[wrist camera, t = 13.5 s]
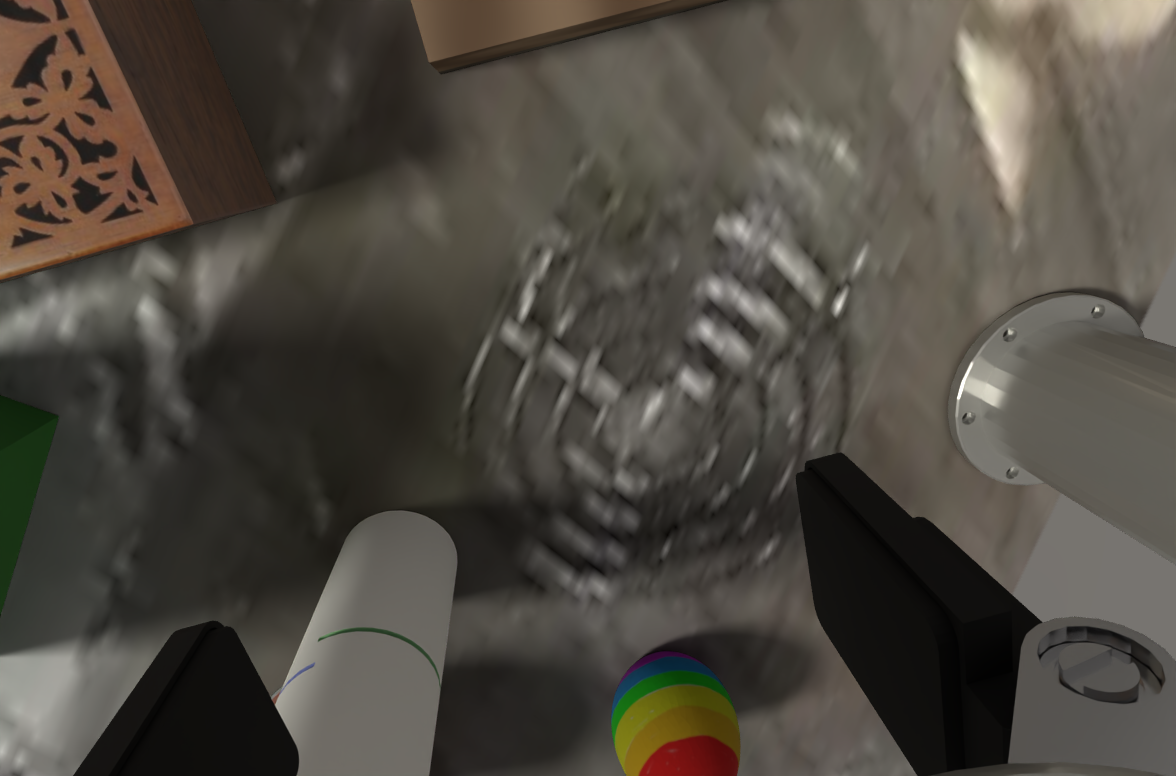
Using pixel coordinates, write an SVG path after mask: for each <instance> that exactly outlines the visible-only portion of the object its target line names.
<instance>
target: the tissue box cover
mask: <svg viewBox="0 0 1176 776" xmlns="http://www.w3.org/2000/svg"><path fill="white" fill-rule="evenodd" d="M276 203H277V202H276V200H275V198H274V195H273V193H272V190H271V188H270V186H269V183H268V181H267V179H266V176H265V174H264V172H263V169H262V167H261V164H260V162H259V160H258V157H257V155H256V153H255V150H254V148H253V146H252V143H251V141H250V138H249V136H248V134H247V131H246V129H245V127H244V124H243V122H242V120H241V117H240V115H239V113H238V110H237V108H236V105H235V103H234V101H233V98H232V96H231V94H230V91H229V89H228V87H227V84H226V82H225V79H224V77H223V75H222V72H221V70H220V68H219V65H218V63H217V61H216V58H215V56H214V53H213V51H212V49H211V46H210V44H209V42H208V39H207V37H206V35H205V32H204V30H203V27H202V25H201V23H200V20H199V18H198V16H197V13H196V11H195V9H194V6H193V4H192V1H191V0H0V283H3V282H6V281H10V280H13V279H17V278H20V277H23V276H27V275H30V274H34V273H37V272H41V271H44V270H48V269H51V268H55V267H58V266H62V265H65V264H69V263H72V262H75V261H79V260H82V259H86V258H89V257H93V256H96V255H100V254H103V253H107V252H110V251H114V250H117V249H120V248H124V247H127V246H131V245H134V244H138V243H141V242H145V241H148V240H152V239H155V238H159V237H162V236H166V235H169V234H172V233H176V232H179V231H183V230H186V229H190V228H193V227H197V226H200V225H204V224H207V223H211V222H214V221H217V220H221V219H224V218H228V217H231V216H235V215H238V214H242V213H245V212H249V211H252V210H256V209H259V208H263V207H266V206H269V205H273V204H276Z"/></svg>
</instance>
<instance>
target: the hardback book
mask: <svg viewBox="0 0 1176 776" xmlns="http://www.w3.org/2000/svg"><path fill="white" fill-rule="evenodd" d="M58 418H59V416H57V415H54V414H52V413H49V412H46V411H43V410H40V409H38V408H35V407H32V406H29V405H26V404H24V403H21V402H18V401H15V400H12V399H10V398H7V397H4V396H1V395H0V616H1V612H2V609H3V605H4V602H5V599H6V595H7V592H8V588H9V585H10V582H11V578H12V575H13V571H14V568H15V565H16V561H17V558H18V554H19V551H20V548H21V544H22V541H23V537H24V534H25V531H26V527H27V524H28V520H29V517H30V514H31V510H32V507H33V503H34V500H35V497H36V493H37V490H38V486H39V483H40V479H41V476H42V473H43V469H44V466H45V462H46V459H47V456H48V452H49V449H50V445H51V442H52V439H53V435H54V432H55V428H56V425H57V422H58Z"/></svg>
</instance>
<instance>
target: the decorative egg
mask: <svg viewBox="0 0 1176 776" xmlns="http://www.w3.org/2000/svg"><path fill="white" fill-rule="evenodd" d="M611 726H612V735H613V741H614V746H615V749H616V752H617V756H618V758H619V761H620V763H621V765H622V768H623V770H624V772H625V774H626V775H627V776H737V773H738V768H739V761H740V733H739V726H738V721H737V716H736V713H735V710H734V707H733V704H732V701H731V699H730V697H729V695H728V693H727V691H726V689H725V688H724V686H723V684H722V683H721V681H720V680H719V679H718V678H717V676H716V675H715V674H714V673H713V672H712V671H711V670H710V669H709V668H708V667H707V666H705V665H704V664H703V663H701V662H700V661H698V660H697V659H695V658H693V657H691V656H688V655H686V654H683V653H679V652H673V651H662V652H656V653H653V654H650V655H648V656H645V657H643V658H642V659H640V660H638V661H637V662H636V663H635V664H634V665H632V666H631V667H630V669H629V670H628V671H627V672H626V673H625V675H624V676H623V678H622V680H621V681H620V683H619V685H618V688H617V690H616V693H615V696H614V700H613V705H612V714H611Z"/></svg>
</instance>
